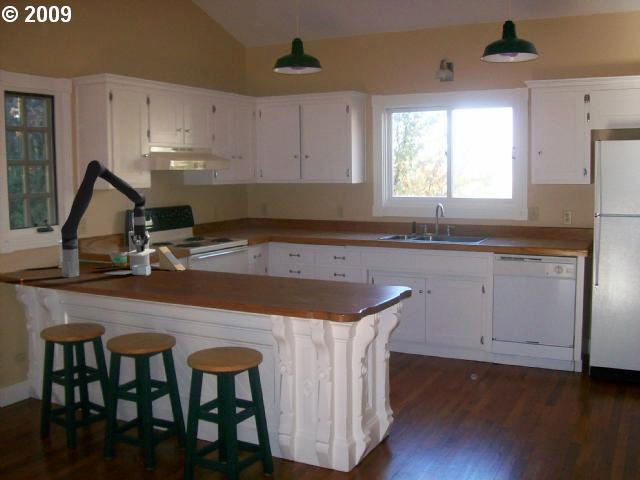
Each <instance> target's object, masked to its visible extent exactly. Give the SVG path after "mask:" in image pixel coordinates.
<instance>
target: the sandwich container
mask: <svg viewBox="0 0 640 480" xmlns="http://www.w3.org/2000/svg"><path fill="white" fill-rule="evenodd" d="M158 267H159V270H165V271H169V272H170V271H171V272H176V271H175V270H181V271H185V270H186V267H185V266H184V265H182V263H181V262H180V261H179V260H178V259H177V258H176V256H174V254H173V253H172V252H171V250H170V249H169V248H168V247H167V245H166V246H161V247H160V246H159V247H158Z"/></svg>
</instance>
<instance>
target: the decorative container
mask: <svg viewBox="0 0 640 480" xmlns="http://www.w3.org/2000/svg"><path fill="white" fill-rule="evenodd" d="M57 244H58V258H59V261H58V262H59V265H58V266H57V267H58V269H62V262H63V256H62V239H61V240H57Z"/></svg>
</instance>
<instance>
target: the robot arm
mask: <svg viewBox="0 0 640 480" xmlns="http://www.w3.org/2000/svg"><path fill="white" fill-rule="evenodd" d="M85 169H86V170H85V173H84V176H83V179H82V181H81V183H80V185H79V188H78V189H77V192H76V194H75V196H74V197H73V201H72V204H71V207H70V210H69V211H70V212H69V214H68V216H67V218H66V221H65V223H64V224H63V225H62V226H61V229H60V233H61V240H62V256H63V262H62V268H61V276H62V278H76V277H77V278H78V277H79V276H80V264H79V261H80V260H79V241H78V229H79V226H80V223H81V219H82V217H84V215H85V213H86V211H87V209H88V208H89V206H90V203H91V200H92V197H93V194H94V186H95V183H96V181H97V179H98V178H100V179H102V180H104V181H106V182H107V183H109V184H110V185H111V187H113V188H114V189H115V190H117V191H118V192H119V193H121V194H122V195H124V196H125V197H126V198H127V199H129V201H131V202H132V203H133V204H134V207H133V209H132V214H133V216H132V217H133V218H132V222H133V223H132V224H133V226H132V227H133V229H132V231H134V235H131V239H132V242H133V244H135V245H138V244H140V242H141V252H143V251H145V245H146V244H147V243H148V240H149V239H150V235H148V236H147V235H146V233H145V231H147V227H146V226H147V225H146V224H147V222H146V213H145V212H146V211H145V209H146V195H145V194H144V192H142V191H137V190H136V189H134V188H133V186H132V185H131V184H129V183H128V182H126V181H125V180H124V179H122V178H120V177H119V176H118V175H116V174H115V173H113V172H112V171H110V169H109V168H108V167H107V166H105V165H104V163H103V162H101V161H100V160H97V159H96V160H95V159H93V160H91V161H90V162H89V163H88V164H87V166H86V168H85ZM142 240H143V241H142Z"/></svg>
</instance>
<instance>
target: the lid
mask: <svg viewBox="0 0 640 480" xmlns="http://www.w3.org/2000/svg"><path fill="white" fill-rule="evenodd" d="M155 252H156V249H153V248H149V249H145V251H143V252H141V244H138V245H136V250H134V251H131V252H128V251H127V253H126V255H127V256H130V255H131V256H144V255H146V254H149V255H150V254H151V253H155Z"/></svg>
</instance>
